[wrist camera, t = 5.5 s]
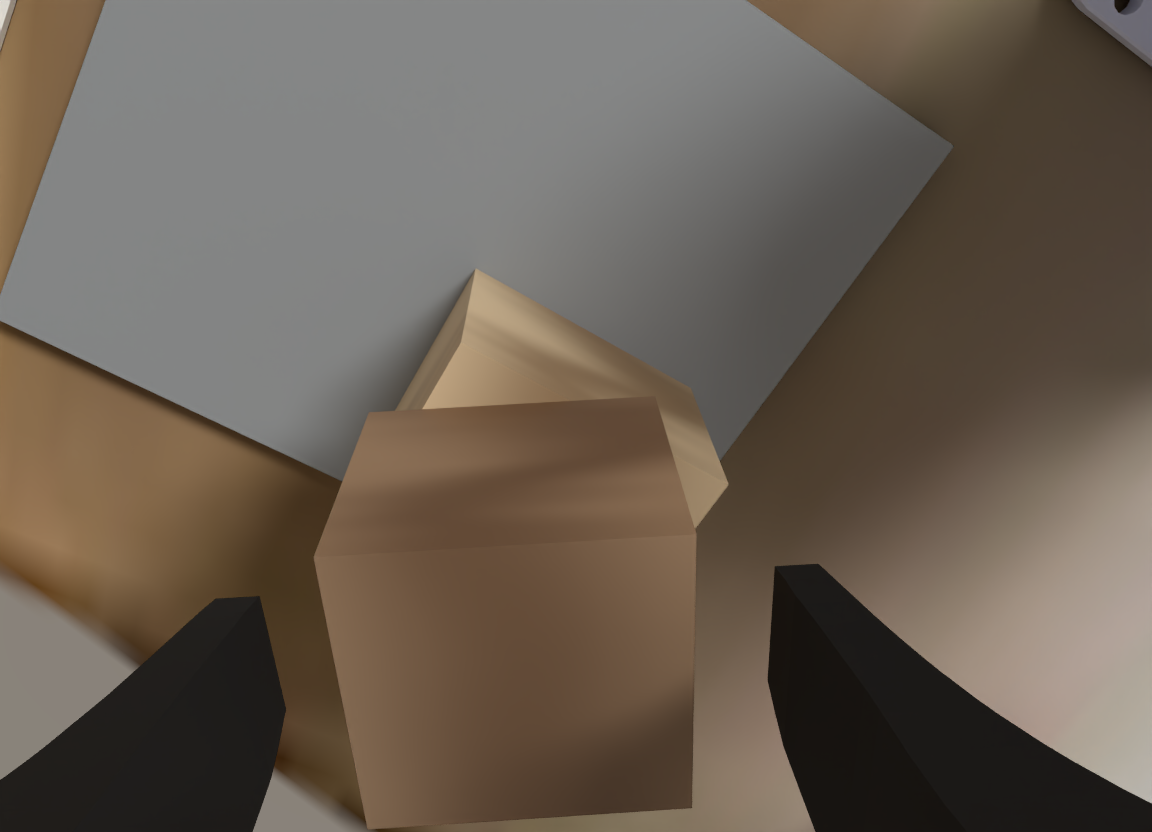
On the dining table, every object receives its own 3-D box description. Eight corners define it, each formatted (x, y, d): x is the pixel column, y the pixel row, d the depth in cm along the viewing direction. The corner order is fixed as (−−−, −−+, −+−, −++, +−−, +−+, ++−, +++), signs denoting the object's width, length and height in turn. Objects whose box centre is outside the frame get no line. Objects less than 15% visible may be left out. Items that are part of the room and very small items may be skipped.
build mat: (941, 140, 17) (954, 146, 17) (608, 591, 22) (610, 607, 21) (245, -345, 14) (234, -359, 13) (8, 307, 18) (-8, 316, 17)
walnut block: (655, 396, 14) (696, 534, 11) (656, 625, 16) (691, 807, 13) (368, 412, 14) (313, 557, 11) (404, 641, 16) (367, 829, 13)
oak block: (690, 387, 19) (728, 484, 15) (566, 565, 20) (573, 689, 17) (475, 268, 17) (461, 342, 14) (362, 467, 19) (322, 579, 16)
